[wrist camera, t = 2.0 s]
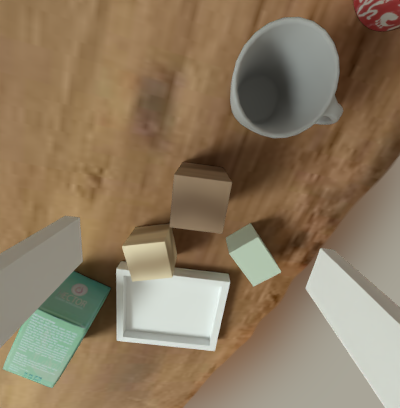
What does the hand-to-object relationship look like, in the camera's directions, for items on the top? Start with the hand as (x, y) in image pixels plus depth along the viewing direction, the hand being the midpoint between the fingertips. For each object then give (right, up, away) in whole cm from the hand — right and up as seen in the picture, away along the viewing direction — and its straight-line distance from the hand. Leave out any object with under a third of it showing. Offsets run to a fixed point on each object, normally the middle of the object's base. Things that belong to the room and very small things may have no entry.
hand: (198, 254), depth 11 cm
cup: (+7, +14, +11) cm, 19 cm away
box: (-20, -13, +22) cm, 32 cm away
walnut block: (0, +5, +14) cm, 15 cm away
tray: (-5, -13, +21) cm, 25 cm away
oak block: (-6, -2, +17) cm, 19 cm away
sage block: (+7, -3, +17) cm, 19 cm away
